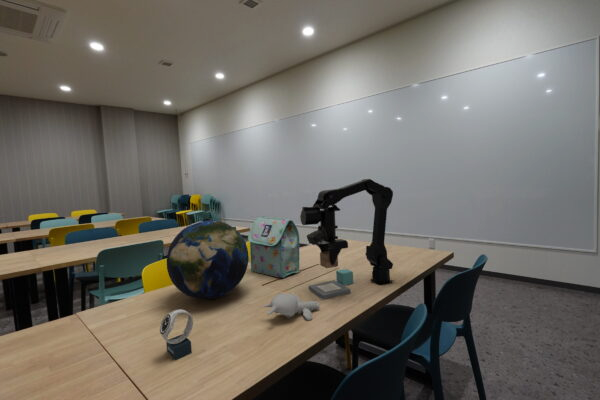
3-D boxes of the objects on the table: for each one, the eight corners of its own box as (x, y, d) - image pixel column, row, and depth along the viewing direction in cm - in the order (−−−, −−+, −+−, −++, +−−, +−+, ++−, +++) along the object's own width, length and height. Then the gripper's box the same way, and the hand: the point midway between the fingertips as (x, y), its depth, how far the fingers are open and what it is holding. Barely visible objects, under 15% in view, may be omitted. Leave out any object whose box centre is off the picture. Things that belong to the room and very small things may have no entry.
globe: (213, 279, 136) (208, 215, 134) (265, 288, 121) (261, 216, 119) (152, 304, 110) (145, 225, 108) (209, 320, 95) (203, 228, 93)
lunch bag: (246, 272, 144) (243, 218, 142) (271, 264, 156) (268, 214, 155) (280, 281, 129) (277, 220, 127) (304, 271, 141) (301, 216, 140)
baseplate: (334, 283, 123) (334, 280, 123) (350, 293, 112) (350, 289, 112) (308, 289, 118) (308, 285, 118) (323, 299, 107) (322, 295, 107)
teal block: (346, 280, 127) (346, 268, 127) (353, 283, 122) (352, 271, 122) (336, 282, 125) (336, 270, 125) (343, 285, 120) (342, 273, 120)
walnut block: (331, 263, 117) (330, 250, 117) (338, 266, 113) (337, 253, 112) (320, 265, 115) (319, 252, 115) (326, 268, 111) (326, 255, 110)
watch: (159, 355, 76) (156, 313, 76) (189, 342, 82) (186, 303, 81) (166, 364, 72) (163, 320, 72) (198, 350, 78) (195, 309, 77)
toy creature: (330, 306, 93) (273, 313, 83) (323, 325, 95) (267, 334, 85) (311, 283, 104) (258, 286, 94) (306, 300, 106) (254, 305, 96)
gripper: (298, 222, 118) (300, 260, 119) (321, 228, 101) (322, 272, 102) (322, 220, 123) (324, 256, 124) (348, 225, 106) (349, 267, 107)
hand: (329, 263), depth 114 cm, fingers closed on walnut block, 5 cm apart
